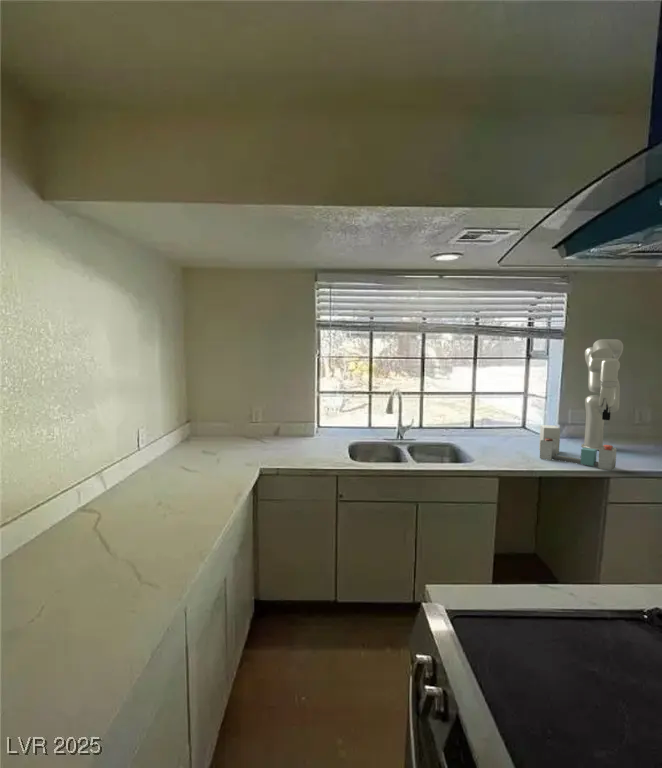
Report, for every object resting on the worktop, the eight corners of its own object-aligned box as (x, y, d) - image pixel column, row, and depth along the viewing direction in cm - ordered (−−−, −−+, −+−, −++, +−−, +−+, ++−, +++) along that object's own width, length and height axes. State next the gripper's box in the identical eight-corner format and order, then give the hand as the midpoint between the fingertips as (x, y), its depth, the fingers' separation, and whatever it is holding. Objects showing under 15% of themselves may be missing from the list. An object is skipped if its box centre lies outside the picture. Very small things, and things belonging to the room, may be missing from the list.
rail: (554, 458, 255) (554, 454, 255) (600, 466, 240) (601, 462, 240) (552, 459, 253) (552, 455, 253) (599, 467, 238) (599, 463, 237)
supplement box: (559, 454, 264) (560, 428, 262) (542, 453, 265) (543, 427, 264) (555, 450, 272) (556, 425, 271) (538, 449, 274) (539, 424, 273)
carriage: (583, 462, 246) (584, 447, 245) (595, 464, 242) (596, 449, 241) (580, 463, 243) (581, 449, 242) (593, 466, 239) (594, 451, 238)
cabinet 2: (602, 465, 242) (603, 446, 241) (615, 467, 238) (616, 448, 237) (598, 468, 236) (599, 449, 235) (611, 470, 232) (612, 451, 231)
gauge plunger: (604, 453, 239) (604, 444, 238) (613, 454, 236) (613, 445, 236) (602, 454, 236) (602, 445, 235) (611, 456, 233) (611, 447, 233)
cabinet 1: (544, 455, 261) (545, 436, 260) (556, 457, 257) (557, 438, 256) (539, 458, 255) (540, 439, 254) (551, 460, 251) (552, 441, 250)
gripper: (603, 382, 244) (601, 416, 246) (596, 385, 233) (594, 421, 235) (620, 383, 239) (617, 418, 241) (613, 386, 228) (610, 423, 230)
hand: (606, 419), depth 238 cm, fingers closed
